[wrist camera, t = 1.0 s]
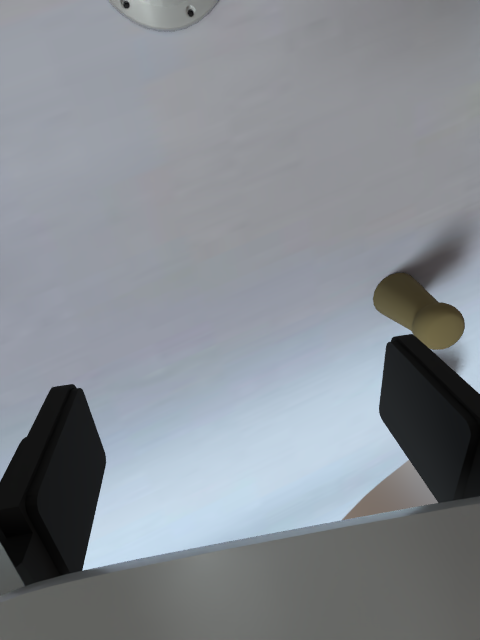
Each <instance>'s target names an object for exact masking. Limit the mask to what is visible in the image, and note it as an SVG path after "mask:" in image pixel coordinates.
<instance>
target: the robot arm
mask: <svg viewBox="0 0 480 640" xmlns="http://www.w3.org/2000/svg"><path fill="white" fill-rule="evenodd" d="M108 1H109V2H110V3H111V5H112V6H113V7H114V8H115V9H116V10H117V11H118V12H119V13H121V14H122V15H123V16H125V17H126V18H128V19H129V20H130V21H132V22H134V23H136V24H138V25H140V26H142V27H144V28H147V29H151V30H155V31H177V30H181V29H186V28H188V27H190V26H192V25H194V24H196V23H198V22H199V21H200V20H201V19H203V18H204V17H205V16H206V15H207V14H209V12H210V11H211V10H212V9H213V7H214V6H215V5H216V4H217V2H218V1H219V0H108ZM126 2H127V3H129V4H130V6H129V8H128V9H126V8H125V7H124V4H125V3H126ZM190 10H191V11H193V13H194V15H193V16H192V17H190V16H189V15H188V12H189V11H190ZM379 413H380V416H381V419H382V420H383V422H384V423H385V425H386V426H387V428H388V429H389V431H390V432H391V434H392V435H393V437H394V438H395V439H396V441H397V442H398V444H399V445H400V447H401V448H402V450H403V451H404V453H405V454H406V456H407V457H408V459H409V460H410V461H411V463H412V465H413V466H414V467H415V469H416V470H417V472H418V473H419V475H420V476H421V478H422V479H423V481H424V482H425V483H426V485H427V486H428V488H429V490H430V491H431V492H432V494H433V495H434V497H435V498H436V500H437V501H438V503H436V504H430V505H424V506H419V507H413V508H408V509H403V510H398V511H392V512H386V513H380V514H375V515H369V516H364V517H358V518H353V519H347V520H342V521H336V522H331V523H325V524H320V525H315V526H309V527H304V528H299V529H293V530H288V531H283V532H277V533H272V534H267V535H261V536H256V537H251V538H245V539H240V540H235V541H229V542H224V543H219V544H214V545H209V546H203V547H198V548H193V549H188V550H183V551H178V552H172V553H167V554H162V555H157V556H152V557H146V558H141V559H136V560H131V561H127V562H122V563H117V564H112V565H108V566H103V567H98V568H93V569H89V570H84V571H82V569H83V564H84V560H85V555H86V551H87V546H88V542H89V537H90V533H91V529H92V524H93V520H94V515H95V511H96V506H97V502H98V497H99V493H100V488H101V484H102V479H103V475H104V470H105V466H106V456H105V452H104V449H103V446H102V443H101V440H100V437H99V435H98V432H97V429H96V426H95V423H94V420H93V418H92V415H91V412H90V409H89V406H88V403H87V400H86V398H85V395H84V392H83V390H82V389H81V388H76V386H75V385H73V384H70V385H63V386H57V387H52V388H51V390H50V391H49V393H48V395H47V397H46V399H45V401H44V403H43V405H42V407H41V410H40V412H39V414H38V416H37V418H36V420H35V422H34V424H33V426H32V428H31V430H30V432H29V434H28V436H27V437H25V438H24V439H23V440H22V441H21V443H20V444H19V446H18V448H17V450H16V452H15V454H14V456H13V458H12V460H11V462H10V464H9V466H8V468H7V470H6V472H5V474H4V476H3V478H2V479H1V481H0V640H480V394H479V393H478V392H477V391H475V390H474V389H473V388H472V387H471V386H470V385H469V384H468V383H467V382H466V381H464V380H463V379H462V378H461V377H460V376H459V375H458V374H457V373H456V372H454V371H453V370H452V369H451V368H450V367H449V366H448V365H447V364H446V363H445V362H443V361H442V360H441V359H440V358H439V357H438V356H437V355H436V354H435V353H433V352H432V351H431V350H430V349H429V348H428V347H427V346H426V345H425V344H424V343H422V342H421V341H420V340H419V339H418V338H417V337H416V336H414V335H413V334H409V335H403V336H396V337H393V338H392V340H391V342H388V343H387V346H386V353H385V362H384V370H383V379H382V387H381V396H380V405H379Z"/></svg>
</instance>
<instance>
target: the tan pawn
mask: <svg viewBox="0 0 480 640" xmlns="http://www.w3.org/2000/svg"><path fill="white" fill-rule="evenodd" d="M373 301H374V306H375V307H376V309H377V310H378V311H379V312H380V313H381V314H383V315H385V316H387V317H388V318H390V319H392V320H394V321H395V322H397V323H399V324H401V325H402V326H404V327H406V328H408V329H409V330H411V331H412V332H413V334H414V336H416V337H417V338H418V339H419V340H420V341H421V342H422V343H424V344H425V345H426V346H427V347H428V348H429V349H433V350H438V349H445V348H448V347H450V346H452V345H453V344H455V343H456V342H457V341H458V340H459V339H460V337H461V336H462V334H463V331H464V328H465V323H464V318H463V316H462V314H461V313H460V311H458V310H457V309H456V308H455V307H453V306H452V305H449V304H446V303H439V302H438V301H437V300H436V299H435V298H434V297H433V296H432V295H430V294H429V293H428V292H427V291H426V290H425V289H424V288H423V287H422V286H421V285H420V284H419V283H418V282H417V281H416V280H415V279H414V278H413V277H412V276H411V275H409V274H406V273H395V274H392V275H389V276H388V277H386V278H384V279H383V280H382V281H381V282H380V283H379V284H378V286H377V288H376V290H375V292H374V297H373Z"/></svg>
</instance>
